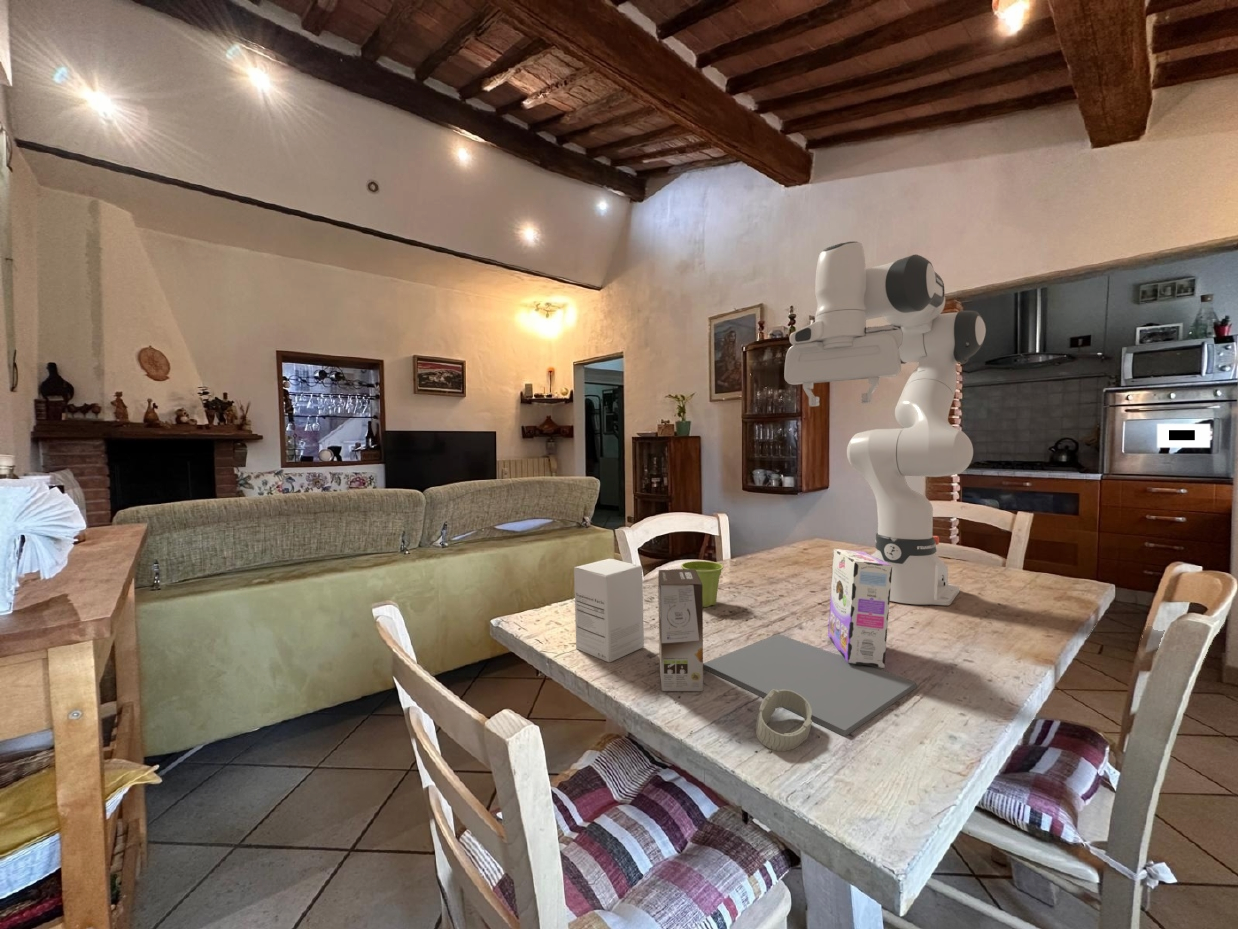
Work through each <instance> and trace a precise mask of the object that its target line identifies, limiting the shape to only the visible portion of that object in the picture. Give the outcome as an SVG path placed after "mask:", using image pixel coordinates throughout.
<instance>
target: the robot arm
mask: <svg viewBox="0 0 1238 929" xmlns="http://www.w3.org/2000/svg"><path fill="white" fill-rule="evenodd" d="M865 257H866V256H865V250H864V246H863V243H862V242H859V241H846V242H840V243H837V244H835V245H834V244H833V245H831V246H829V247H826V248H825V249H823V250H822V251H821V252H820V253H819V255H818V258H817V264H816V271H815V282H814V283H815V284H814V286H815V288H814V289H815V290H814V293H815V294H814V296H815V297H814V298H815V300H816V311H815V316H814V322H812V323H811V324H808V325H807V326H804V327H802V328H799V329H798V330H795V331H793V332H791V333H790V335H789V343H790V344H791V346H790V347H789V348H788V349H787V352H786V355H785V359H784V360H785V362H784V373H783V374H784V377H783V378H784V380H785V382H787V384H788V385H793V386H794V385H802V388H803V391H804V392H805V394H806V396H807V397H808V404H809V405H808V406H809V407H819V406H820V397H819V396H815V394H814V393H813V392H812V390H813V389H814V384H817V383H818V384H819V383H820V384H821V383H831V382H843V381H854V380H855V381H856V380H868V382H867V383H868V384H869V385H870V387H869V388H868V390H867V392H865V393H861V398H862V399H861V403H862V404H872V403H873V394H874V393H875V391H876V390H877V388H878V386H879V385H880V379H881V378H893V377H897V376H899V374H900V373H901V372H902V365H905V364H907V363H918V366H917V367H916V368H915V369H914V370H913V372H912V373H911V375H910V376H909V377H908V379H907V381H906V383H905V385H904V386H903V389H902V392H901V395H900V397H899V399H898V401H897V404H896V406H895V409H894V416H895V420H896V422H897V423H898V425H899V426H901V427H902V428H875V429H870V430H864V431H861V432H858V433H857V432H856V433H855V434H854V435H853V436H852V437H851V439H850V440H849V442H848V444H847V447H846V457H847V461H848V463H849V464H850V466H851V468H853V470H854V471H856V472H857V473H859V474H860V475H861V476H862V477H863V478H864V479H865V481H866V482H867V484H868V485H869V486H870V488H871V491H872V493H873V495H874V498H875V502H876V510H877V511H876V512H877V513H876V514H877V532H876V533H875V539H874V542H875V549H876V550H875V552H873V553H872V554H871V555H872V556H874V557H876V558H878V559H880V560H882V561H884V562H886V563H888V564H890V565H892V576H891V590H890V601H889V602H895V603H900V604H910V605H935V606H936V605H937V606H951V604H952V603H953V601H954V600H955V598H956V597H957V596H958V594H959V593H960V590H961V589H960V586H958V585H956V584H952V583H949V569H948V566H947V565H946V563H945V562H944V561H943V560H942V559H941V558H940V557H939V556H938V555H937V546H939V543H940V537H939V536H938V535H933V532H934V531H933V529H934V528H933V521H934V520H933V519H934V518H933V517H934V516H933V515H934V512H933V511H934V508H933V505H932V503H931V501H930V500H929V499H928V498H927V497H926V496H925V495H923V494H921V493H920V492H918V491H915V490H913V489H912V488H911V487H910V486H909V484H908V483H907V481H906V477H927V478H929V477H931V478H939V477H948V476H953V475H954V476H955V475H960V474H962V473H963V472H964V471H965V470H967V469H968V467H969V466H970V465H971V463H972V460H973V456H974V448H973V443H972V441H971V439H970V438H969V436H968V435H967V434H966V433H965V432H964V431H963V430H960V429H959V428H956V427H954V426H953V425H951V423H950V422H949V414H950V411H951V407H952V404H953V401H954V398H955V394H956V389H957V381H958V375H957V368H956V367H957V364H958V363H960V364H962V365H964V364H967V363H968V362H969V360H970V358H971V357H973V356H974V355H975V354H976V353H978V351H979V350H980V348H981V347H982V346H983V344H984V339H985V337H986V333H987V332H986V331H987V329H986V323H985V322H984V319H983V317H982V315H981V314H980V313H979V312H978V311H977V310H959V311H958V312H947V313H943V311H944V309H945V305H946V296H945V293H946V292H945V283H944V281H943V279H942V278H941V276H940V275H939V274H938V273H937V272H936V270H935V268H934V267H933V264H932V262H931V261H930V260H929V259H927V258H925V257H924V256H922V255H919V254H912V255H908V256H906V257H903V258H900V259H898V260H895V261H891V262H888V263H883V264H880V265H877V266H872V267H869V268H868V267H867V266H866V258H865ZM879 318H882V319H884V321H885V322H886V323H888V324H885V325H881V326H880V325H879V326H878V325H877V326H876V325H875V326H870V327H869V326H868V327H867V320H872V319H879Z"/></svg>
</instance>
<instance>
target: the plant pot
mask: <svg viewBox="0 0 1238 929" xmlns="http://www.w3.org/2000/svg"><path fill="white" fill-rule="evenodd" d="M680 568H681V569H695V570H696V571H697V574H698V576H699V578H700V580H701V582H702V584H703V608H708V607H710V606H716V604H717V599H718V589H719V582H720V577H721V575H722V570H723V569H724V565H723V564H721V563H719V562H714V561H706V560H693V561H686V562H683V563H681V564H680Z"/></svg>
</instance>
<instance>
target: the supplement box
mask: <svg viewBox="0 0 1238 929" xmlns="http://www.w3.org/2000/svg"><path fill="white" fill-rule="evenodd" d="M573 576H574V577H573V579H574V584H573V585H574V609H575V613H574V614H575V616H574V617H575V649H576V650H578V651H580V652H583V653H586V654H587V655H591V656H592V657H595V658H596V659H599V660H602V661H604V662H607V663H612V662H614V661H616V660H618V659H620V658H623V657H625V656H627V655H629V654H631V653H633V652H636V651H638V650H641V649H643V648H644V647H645V634H644V633H645V632H644V631H645V629H644V593H643V592H644V589H643V588H644V586H643V566H642V565H640V564H637V563H630V562H625V561H622V560H617V559H615V558H607V559H603V560H602V559H601V560H597V561H594V562H589V563H586V564H582V565H579V566H578V565H577V566H574V567H573Z"/></svg>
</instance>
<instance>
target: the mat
mask: <svg viewBox="0 0 1238 929" xmlns="http://www.w3.org/2000/svg"><path fill="white" fill-rule="evenodd" d="M703 670H706V671H707V672H709V673H711V674H713V675H716V676H717V677H720V678H722V679H723V680H726V681H728V682H730V683H733V684H734V685H736V686H739V687H740V688H743V689H744V690H747V691H749V692H751V693H753V694H755V695H756V696H759V697H761V698H763V699H764V698H765V697H766V696H767V694H768V693H769V692H770V691H771V690H773V689H775V690H778V691H779V690H782V689H787V690H790V691H794V692H796V693H798V694H799V695H801V696H802V697H804V698H805V699H806V701H808V703H809V704H810V707H811V709H812V715H811V720H812V723H815V724H818V725H819V726H821V727H824V728H826V729H828V730H830V731H832V732H834V733H837V734H838V735H841V736H843V737H844V738H845V737H847V736H848V735H849V734H851V733H853V732H854V731H855V730H857V729H858V728H860V727H861V726H862V725H864V724H865V723H867V722H869V721H870V720H872V718H874V717H876V716H877V715H879V714H880V713H881V712H883V711H885V710H886V709H887V708H889V707H890V706H892V705H894V704H895V703H896V702H898V701H900V700H901V699H902V698H904V697H905V696H906V695H908V694H909V693H911V692H912V691H913V690H915V689H917V687H918V686H917V685H918V684H917V683H918V682H917V681H914V680H911V679H909V678H907V677H903V676H900V675H897V674H894V673H892V672H889V671H886V670H882V669H881V668H878V667H874V666H867V665H860V664H853V663H848V662H847V661H846V660H845V658H844V657H843V655H840V654H836V653H834V652H831V651H828V650H826V649H823V648H819V647H817V646H814V645H811V644H808V643H806V642H803V641H800V640H797V639H793V638H791V637H788V636H785V635H784V634H783V635H782V634H780V633H777V634H773V635H772V636H769V637H767V638H764V639H761V640H759V641H757V642H754V643H751V644H749V645H747V646H743V647H741V648H738V649H735V650H734V651H731V652H729V653H726V654H723V655H721V656H718V657H716V658H713V659H711V660H709V661H708V660H707V661H706V662H703ZM783 708H784V709H787V710H788V711H790V712H792V713H794V714H796V715H798V716H801V717H803V716H802V715H801V714H800V713H799V712H797V711H796V710H794V709H792V708H788V707H783Z"/></svg>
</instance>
